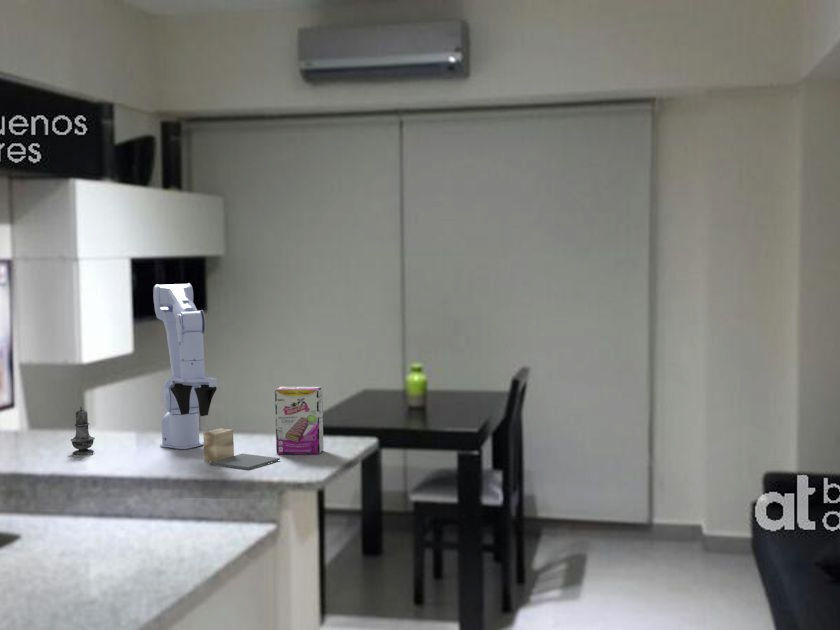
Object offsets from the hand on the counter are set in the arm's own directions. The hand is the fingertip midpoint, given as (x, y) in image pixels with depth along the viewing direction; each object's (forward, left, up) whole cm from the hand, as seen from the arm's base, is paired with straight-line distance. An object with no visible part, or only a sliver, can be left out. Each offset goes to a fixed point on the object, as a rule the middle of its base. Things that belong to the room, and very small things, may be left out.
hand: (194, 414), depth 233 cm
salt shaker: (-30, -10, -11) cm, 34 cm away
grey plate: (+16, 0, -10) cm, 19 cm away
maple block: (+8, 0, -11) cm, 13 cm away
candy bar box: (+21, +15, -11) cm, 28 cm away
